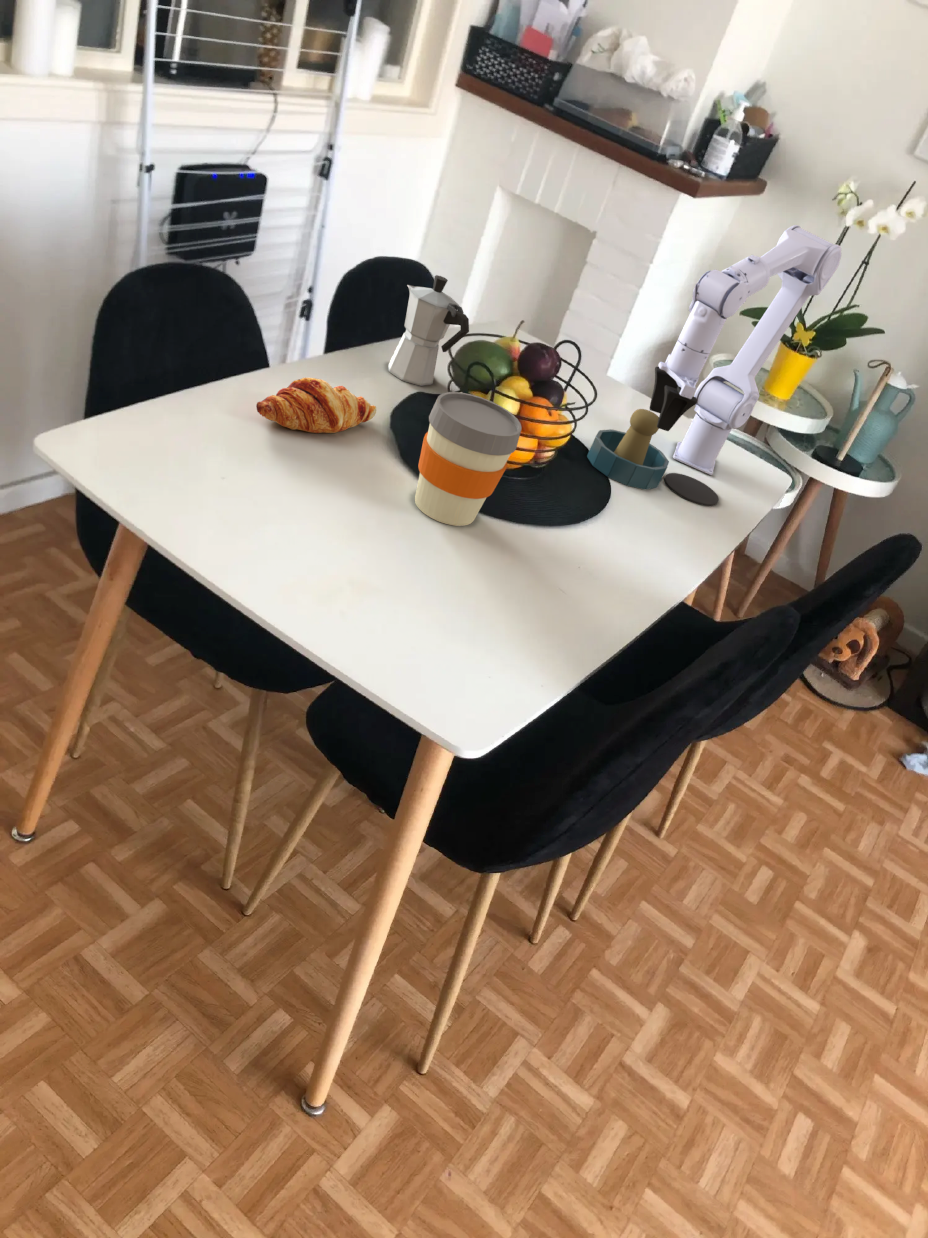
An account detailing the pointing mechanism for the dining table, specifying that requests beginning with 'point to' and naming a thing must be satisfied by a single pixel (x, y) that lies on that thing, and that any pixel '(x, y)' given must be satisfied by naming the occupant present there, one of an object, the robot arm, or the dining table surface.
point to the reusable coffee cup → (463, 456)
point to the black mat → (691, 489)
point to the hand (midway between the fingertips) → (658, 419)
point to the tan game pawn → (638, 436)
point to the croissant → (316, 407)
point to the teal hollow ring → (626, 462)
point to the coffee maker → (426, 332)
